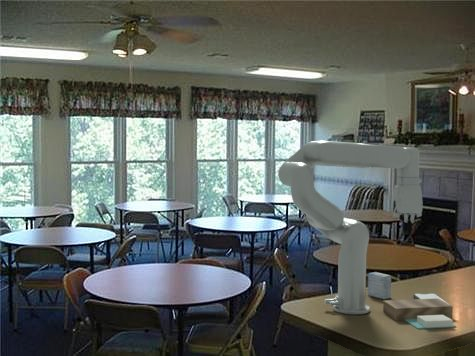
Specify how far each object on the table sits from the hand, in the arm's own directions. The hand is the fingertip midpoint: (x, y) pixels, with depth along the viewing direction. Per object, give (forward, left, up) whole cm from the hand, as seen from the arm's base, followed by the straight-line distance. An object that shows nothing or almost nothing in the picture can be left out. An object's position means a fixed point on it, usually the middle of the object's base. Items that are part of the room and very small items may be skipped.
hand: (407, 232), depth 203 cm
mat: (-2, -22, -26) cm, 34 cm away
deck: (-2, -12, -26) cm, 29 cm away
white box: (-2, -24, -24) cm, 34 cm away
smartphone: (+11, +2, -27) cm, 29 cm away
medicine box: (-5, +13, -27) cm, 30 cm away
